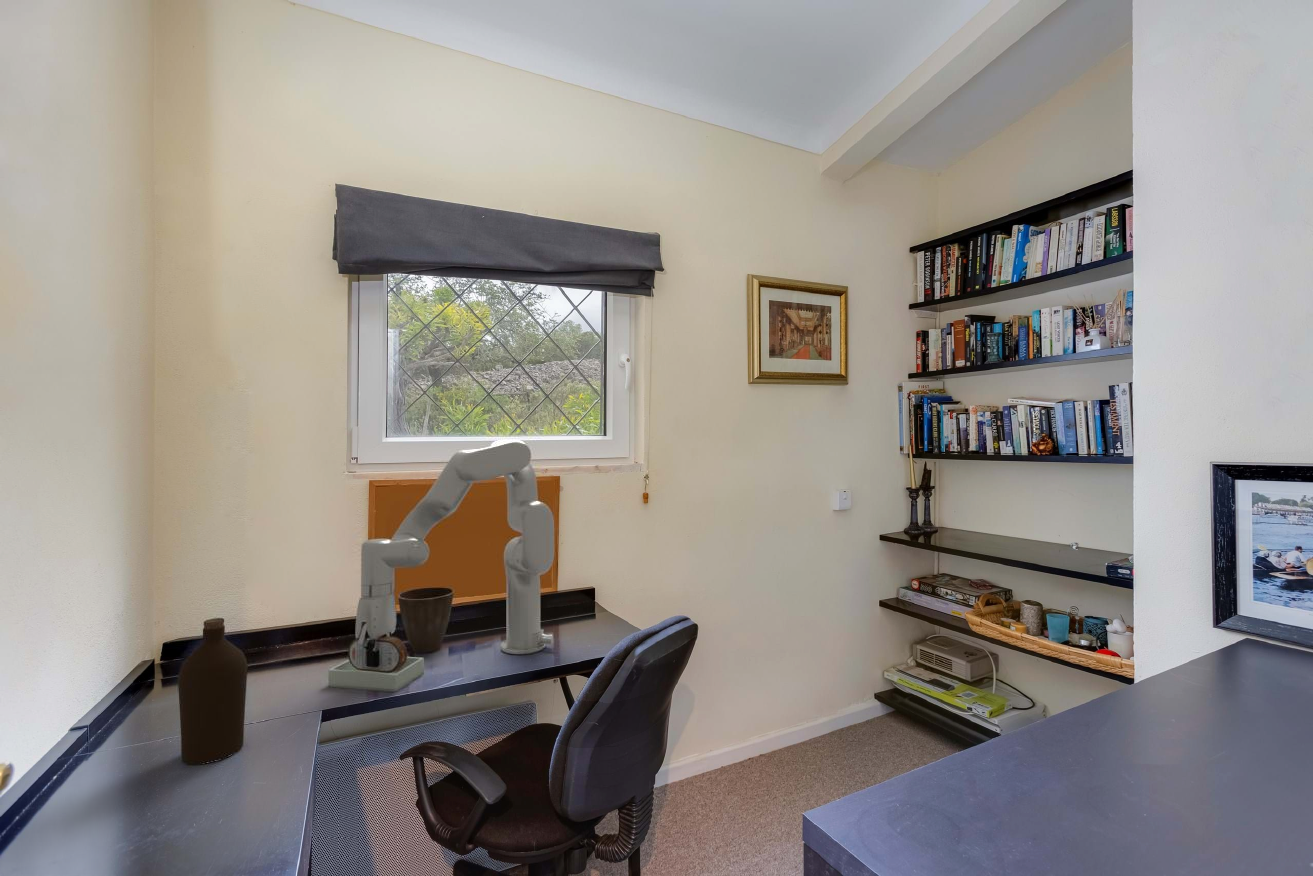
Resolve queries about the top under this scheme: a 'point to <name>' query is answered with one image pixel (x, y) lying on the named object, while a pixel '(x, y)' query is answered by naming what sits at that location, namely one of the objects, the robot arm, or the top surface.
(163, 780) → the top surface
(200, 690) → the olive oil
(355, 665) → the tin
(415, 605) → the plant pot
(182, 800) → the top surface
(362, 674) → the tray
